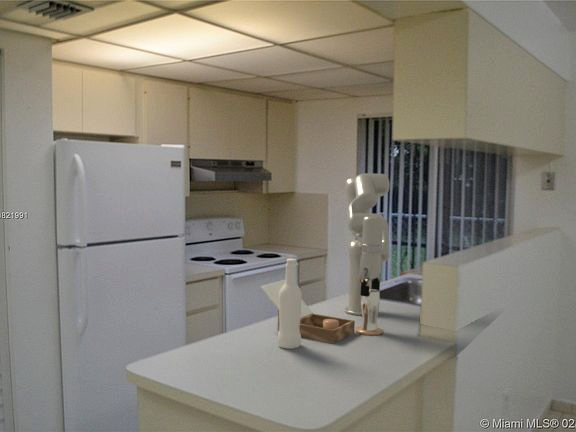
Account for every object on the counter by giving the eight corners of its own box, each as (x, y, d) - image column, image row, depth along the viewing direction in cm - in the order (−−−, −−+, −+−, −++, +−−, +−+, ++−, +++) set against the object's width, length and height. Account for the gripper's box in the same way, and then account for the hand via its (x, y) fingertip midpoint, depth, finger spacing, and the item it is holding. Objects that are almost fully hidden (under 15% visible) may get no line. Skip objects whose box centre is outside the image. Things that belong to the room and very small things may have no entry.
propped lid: (282, 319, 222) (283, 279, 221) (313, 324, 215) (314, 283, 214) (258, 328, 208) (259, 285, 207) (290, 334, 201) (291, 290, 199)
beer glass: (379, 332, 204) (381, 292, 203) (361, 331, 204) (362, 291, 203) (377, 327, 211) (378, 288, 210) (359, 326, 211) (360, 288, 210)
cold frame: (312, 324, 215) (312, 313, 215) (354, 332, 205) (354, 320, 205) (289, 334, 201) (289, 322, 200) (333, 343, 191) (333, 330, 191)
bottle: (272, 346, 185) (275, 259, 183) (284, 341, 193) (286, 256, 191) (294, 351, 182) (296, 261, 180) (304, 344, 189) (307, 258, 187)
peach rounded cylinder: (327, 334, 203) (327, 318, 202) (340, 336, 200) (341, 320, 199) (320, 337, 198) (320, 321, 198) (333, 340, 195) (334, 323, 195)
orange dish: (362, 326, 214) (362, 324, 214) (386, 331, 209) (386, 329, 209) (351, 332, 206) (351, 330, 205) (376, 337, 200) (376, 335, 200)
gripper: (372, 245, 214) (370, 287, 216) (352, 250, 200) (351, 296, 202) (390, 247, 210) (388, 290, 212) (371, 252, 196) (369, 299, 198)
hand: (370, 293), depth 207 cm, fingers open, 9 cm apart
